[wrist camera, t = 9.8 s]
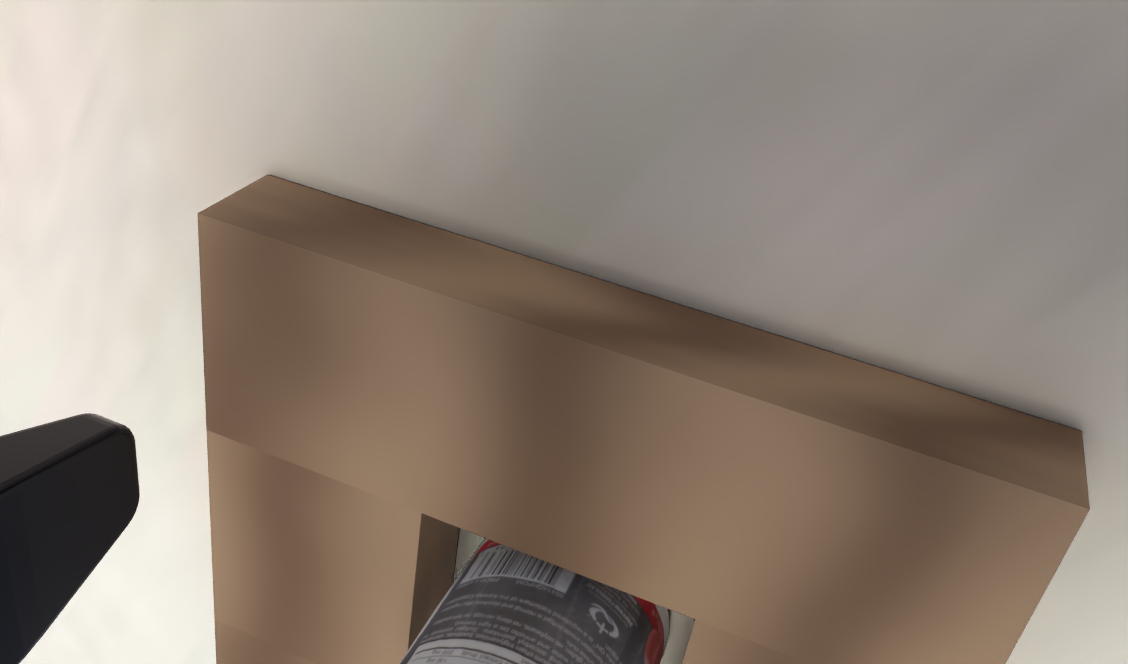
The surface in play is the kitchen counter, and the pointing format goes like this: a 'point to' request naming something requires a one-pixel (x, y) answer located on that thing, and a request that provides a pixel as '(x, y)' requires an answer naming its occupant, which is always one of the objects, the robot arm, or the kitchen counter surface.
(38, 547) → the robot arm
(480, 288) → the hole plate
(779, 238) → the kitchen counter surface
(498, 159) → the kitchen counter surface
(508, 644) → the pill bottle
